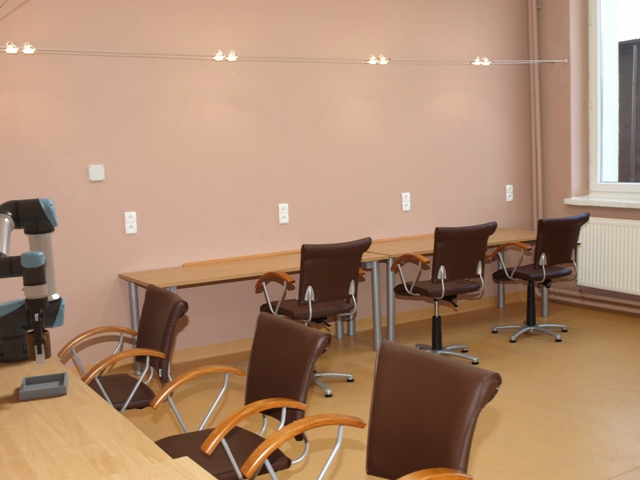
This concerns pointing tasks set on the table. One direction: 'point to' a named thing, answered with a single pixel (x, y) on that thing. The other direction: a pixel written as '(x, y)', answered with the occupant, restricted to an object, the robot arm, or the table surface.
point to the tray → (43, 386)
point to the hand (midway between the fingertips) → (41, 358)
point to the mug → (32, 348)
